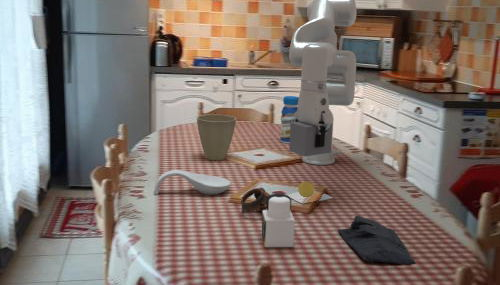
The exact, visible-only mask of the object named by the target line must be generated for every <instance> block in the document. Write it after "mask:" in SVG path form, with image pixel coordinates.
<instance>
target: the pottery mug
mask: <svg viewBox="0 0 500 285" xmlns="http://www.w3.org/2000/svg"><path fill="white" fill-rule="evenodd" d="M269 195H271V194H270V193H269V192H267V191H266V190H265V188H264V187H255V188H252V189H250V190H248V191H246V193H244V194H243V195H242V197H241V201H240V204H241V212H242V213H244V214H245V213H249V212H254V211H258V212H261V207H266V199H267V197H268V196H269ZM251 196H254V198H255V200H253V201H250V202H246V201H247V200H248V199H249V198H250V197H251Z"/></svg>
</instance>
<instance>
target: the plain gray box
mask: <svg viewBox="0 0 500 285" xmlns="http://www.w3.org/2000/svg"><path fill="white" fill-rule="evenodd" d="M319 124H320V123H319ZM332 125H333V126H334V123H333V124H331V126H330V127H329V130H328V131H327V133H326V134H325V143H324V147H318V148H316V147H315V137H316V134H317V131H316V126H313V125H310V124H306V123H303V122H291V123H290V144H289V148H288V150H289V152H291V153H294V154H297V155H300V156H301V157H303V156H312V155H318V154H325V153H331V142H332V143H333V136H332ZM319 128H320V129H321V128H322V126H319Z"/></svg>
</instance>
